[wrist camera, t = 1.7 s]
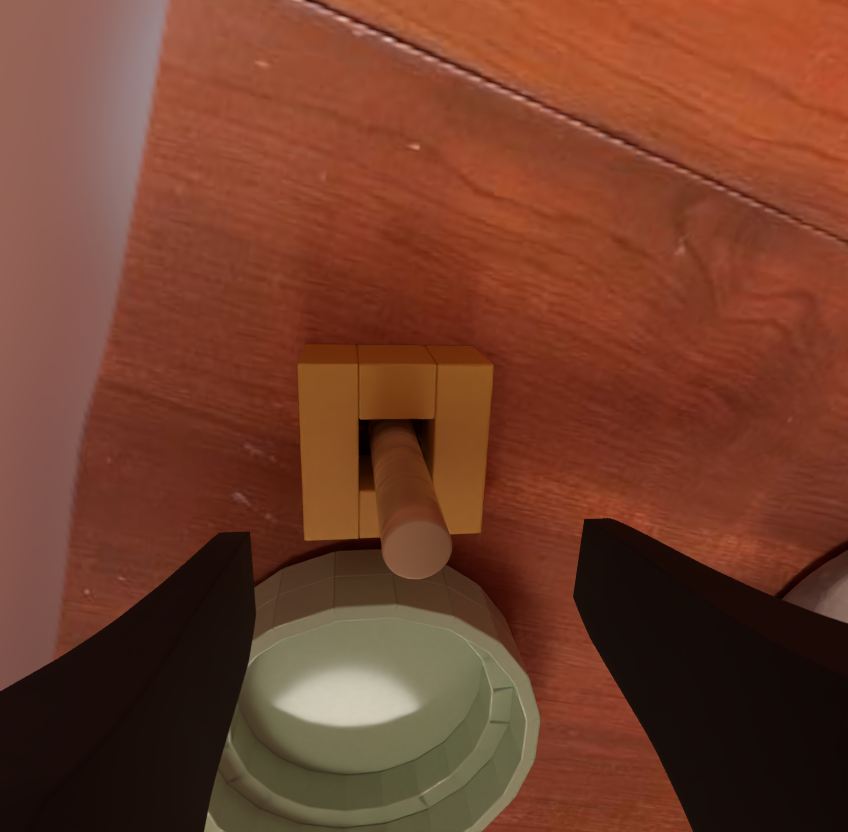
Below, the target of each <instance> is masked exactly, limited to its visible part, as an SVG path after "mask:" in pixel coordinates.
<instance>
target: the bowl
mask: <svg viewBox="0 0 848 832" xmlns="http://www.w3.org/2000/svg"><path fill="white" fill-rule="evenodd" d="M254 592H255V605H256V620H255V627H254V634H253V640H252V646H251V652H250V658H249V663H248V667H247V670H246V674H245V677H244V681H243V684H242V688H241V691H240V695H239V698H238V702H237V705H236V709H235V712H234V715H233V719H232V722H231V726H230V729H229V733H228V736H227V739H226V743H225V746H224V750H223V753H222V757H221V760H220V764H219V767H218V770H217V774H216V778H215V782H214V786H213V790H212V794H211V799H210V804H209V809H208V814H207V819H206V825H205V830H204V832H482V831H483V830H484V829H485V828H486V827H487V826H488V825H489V824H490V823H491V822H492V821H493V820H494V819H495V818H496V817H497V816H498V815H499V814H500V813H501V812H502V811H503V810H504V809H505V808H506V807H507V806H508V805H509V804H510V803H511V801H512V800H513V799H514V798H515V797H516V795H517V793H518V791H519V789H520V788H521V786H522V784H523V782H524V780H525V778H526V776H527V774H528V772H529V771H530V769H531V767H532V765H533V763H534V761H535V757H536V750H537V742H538V735H539V727H540V720H541V719H540V713H539V709H538V705H537V702H536V698H535V695H534V691H533V688H532V684H531V681H530V677H529V675H528V673H527V670H526V668H525V665H524V663H523V660H522V658H521V656H520V653H519V651H518V648H517V646H516V643H515V641H514V638H513V636H512V634H511V631H510V629H509V626H508V624H507V621H506V619H505V617H504V616H503V614H502V613H501V612H500V611H499V609H498V608H497V607H496V606H495V604H494V603H493V602H492V600H491V599H490V598H489V597H488V595H487V594H486V593H485V592H484V590H483V589H482V588H481V587H480V586H479V585H478V584H477V583H475V582H474V581H472V580H470V579H469V578H467V577H465V576H464V575H462V574H460V573H459V572H457V571H456V570H454V569H452V568H451V567H449V566H447V565H446V564H445V566H444V567H443V568H442V569H441V570H439V571H438V572H437V573H435V574H434V575H431V576H429V577H426V578H422V579H407V578H403V577H401V576H399V575H397V574H395V573H394V572H392V571H391V570H390V569H389V568H388V566H387V565H386V563H385V562H384V559H383V555H382V549H370V550H347V551H336V552H331V553H328V554H325V555H322V556H319V557H316V558H313V559H310V560H307V561H304V562H300V563H297V564H294V565H291V566H288V567H285V568H284V569H281V570H280V571H278V572H277V573H275V574H274V575H272V576H271V577H269V578H268V579H266V580H265V581H263V582H262V583H260V584H259V585H258V586H256V587H255V588H254Z"/></svg>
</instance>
